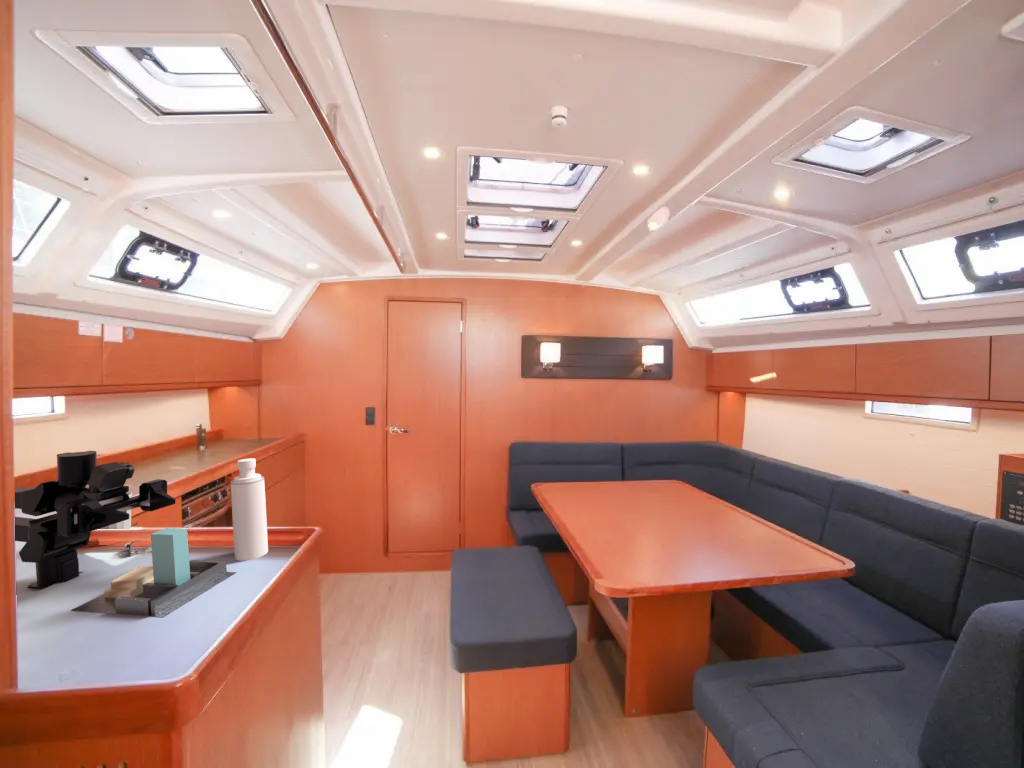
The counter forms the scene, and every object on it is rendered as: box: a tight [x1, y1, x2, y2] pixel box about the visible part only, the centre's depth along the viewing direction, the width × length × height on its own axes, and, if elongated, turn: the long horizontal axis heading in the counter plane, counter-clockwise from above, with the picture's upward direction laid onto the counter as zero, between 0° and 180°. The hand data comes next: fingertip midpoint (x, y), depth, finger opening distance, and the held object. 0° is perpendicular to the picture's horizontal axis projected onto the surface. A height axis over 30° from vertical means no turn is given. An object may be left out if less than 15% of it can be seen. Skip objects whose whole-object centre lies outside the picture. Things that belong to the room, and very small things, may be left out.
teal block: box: [150, 527, 190, 586], centre depth 81 cm, size 5×3×12 cm, turn 81°
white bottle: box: [230, 457, 269, 562], centre depth 96 cm, size 7×7×25 cm
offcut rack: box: [69, 559, 238, 618], centre depth 82 cm, size 20×16×3 cm
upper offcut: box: [110, 565, 154, 589], centre depth 83 cm, size 5×6×2 cm
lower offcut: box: [103, 579, 154, 598], centre depth 82 cm, size 6×7×2 cm
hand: (152, 508), depth 83 cm, fingers open, 9 cm apart
